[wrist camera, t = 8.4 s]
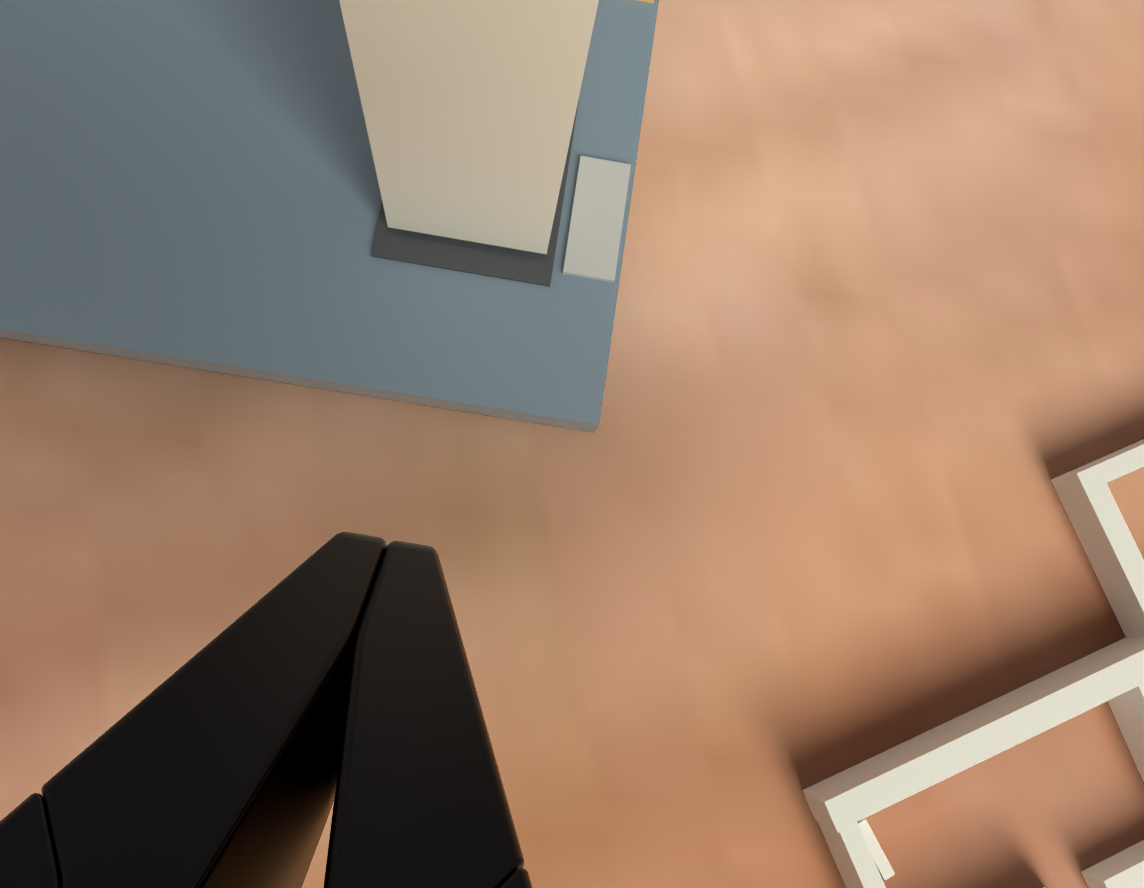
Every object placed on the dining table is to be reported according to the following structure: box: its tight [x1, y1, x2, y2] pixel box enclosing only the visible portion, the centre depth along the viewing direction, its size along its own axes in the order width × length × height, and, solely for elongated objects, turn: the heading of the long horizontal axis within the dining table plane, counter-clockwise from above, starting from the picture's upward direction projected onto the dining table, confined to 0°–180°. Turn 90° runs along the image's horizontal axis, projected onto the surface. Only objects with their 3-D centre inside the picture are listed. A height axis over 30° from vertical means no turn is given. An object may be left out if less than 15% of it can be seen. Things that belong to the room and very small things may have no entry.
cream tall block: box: [339, 0, 599, 254], centre depth 15 cm, size 2×3×9 cm, turn 82°
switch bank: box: [0, 0, 659, 432], centre depth 19 cm, size 12×18×2 cm, turn 81°
